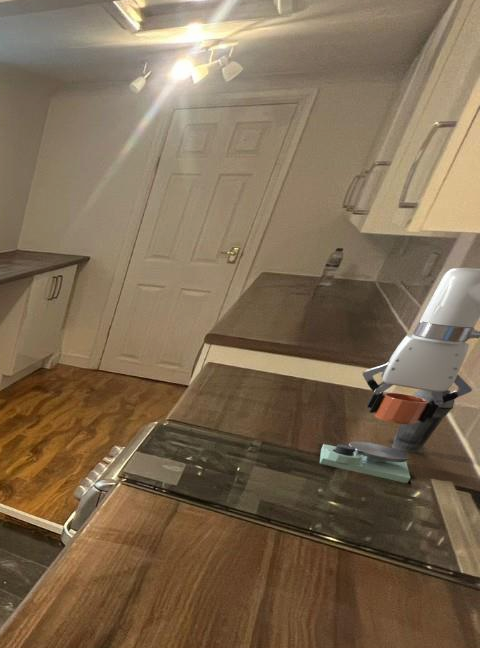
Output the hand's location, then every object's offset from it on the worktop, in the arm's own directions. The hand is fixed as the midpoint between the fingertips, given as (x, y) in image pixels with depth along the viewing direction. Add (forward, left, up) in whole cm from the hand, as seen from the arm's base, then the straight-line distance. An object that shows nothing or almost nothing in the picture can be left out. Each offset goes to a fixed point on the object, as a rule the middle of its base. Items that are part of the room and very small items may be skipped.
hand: (396, 415), depth 124 cm
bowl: (0, 0, -1) cm, 1 cm away
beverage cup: (-7, -20, -12) cm, 24 cm away
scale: (+1, +1, -12) cm, 12 cm away
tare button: (+5, +5, -9) cm, 12 cm away
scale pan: (0, 0, -12) cm, 12 cm away
